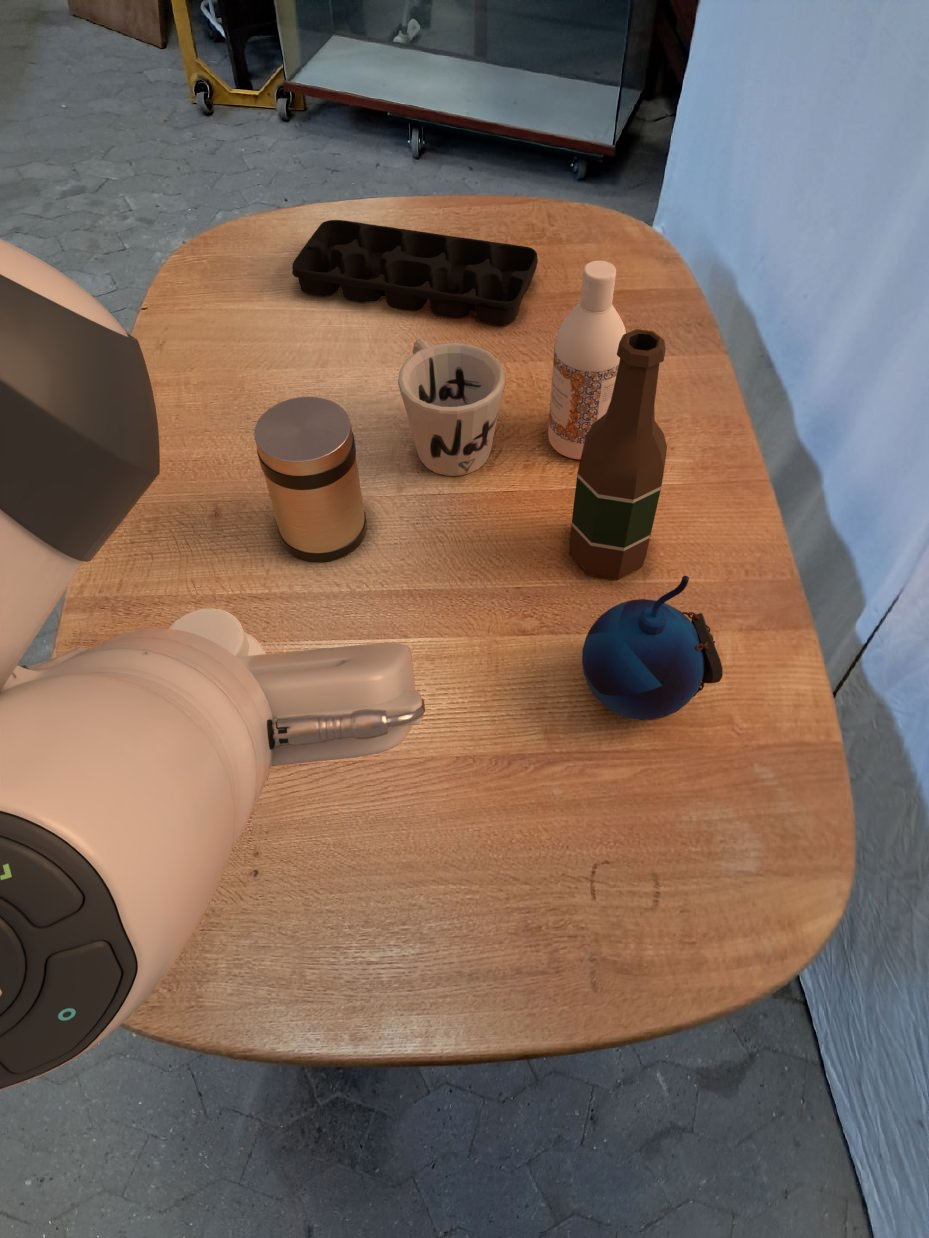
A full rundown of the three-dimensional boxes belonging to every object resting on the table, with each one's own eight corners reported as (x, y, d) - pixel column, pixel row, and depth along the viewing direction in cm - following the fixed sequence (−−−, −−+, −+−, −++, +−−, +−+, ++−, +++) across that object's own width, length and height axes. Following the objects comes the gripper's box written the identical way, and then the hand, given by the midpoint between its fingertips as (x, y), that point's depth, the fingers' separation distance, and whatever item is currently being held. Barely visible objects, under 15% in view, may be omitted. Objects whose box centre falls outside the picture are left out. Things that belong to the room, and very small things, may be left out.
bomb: (720, 731, 75) (766, 624, 63) (592, 750, 74) (613, 644, 62) (685, 636, 81) (721, 521, 69) (566, 652, 80) (581, 539, 68)
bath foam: (536, 429, 97) (546, 259, 81) (592, 410, 99) (613, 240, 83) (567, 470, 94) (584, 300, 78) (625, 449, 95) (654, 279, 79)
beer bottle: (593, 510, 90) (623, 297, 71) (662, 544, 87) (714, 332, 68) (551, 559, 87) (571, 348, 67) (622, 595, 84) (664, 387, 64)
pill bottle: (289, 691, 54) (257, 588, 46) (294, 770, 50) (261, 675, 43) (196, 704, 53) (148, 603, 45) (196, 786, 50) (144, 693, 42)
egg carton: (310, 243, 120) (305, 216, 117) (537, 249, 118) (539, 221, 115) (285, 324, 109) (279, 296, 106) (534, 331, 108) (536, 303, 105)
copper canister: (294, 573, 86) (268, 474, 76) (269, 513, 91) (241, 411, 80) (379, 545, 88) (365, 445, 77) (350, 487, 93) (333, 385, 82)
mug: (427, 499, 91) (422, 423, 83) (375, 410, 100) (365, 333, 92) (520, 468, 94) (524, 391, 86) (462, 384, 102) (460, 307, 94)
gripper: (418, 640, 34) (413, 598, 48) (-140, 695, 33) (18, 635, 47) (434, 800, 35) (424, 713, 49) (-110, 858, 34) (37, 753, 48)
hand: (222, 675), depth 48 cm, fingers closed on pill bottle, 5 cm apart
